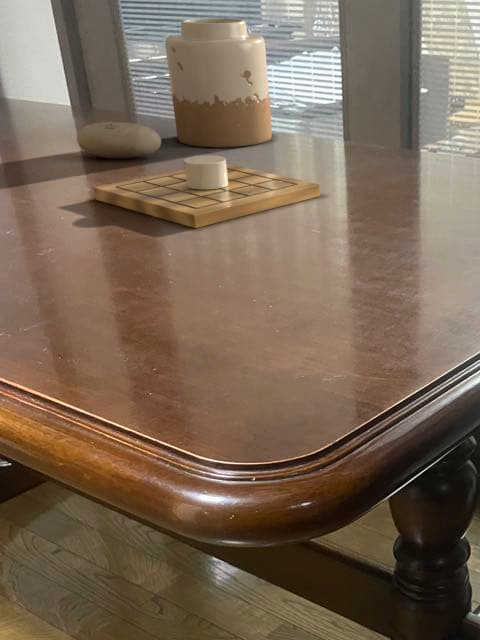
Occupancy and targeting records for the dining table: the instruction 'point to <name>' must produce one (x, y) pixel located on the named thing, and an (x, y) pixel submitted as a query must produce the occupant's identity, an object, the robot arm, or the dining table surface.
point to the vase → (219, 84)
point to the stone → (118, 140)
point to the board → (206, 196)
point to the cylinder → (206, 172)
